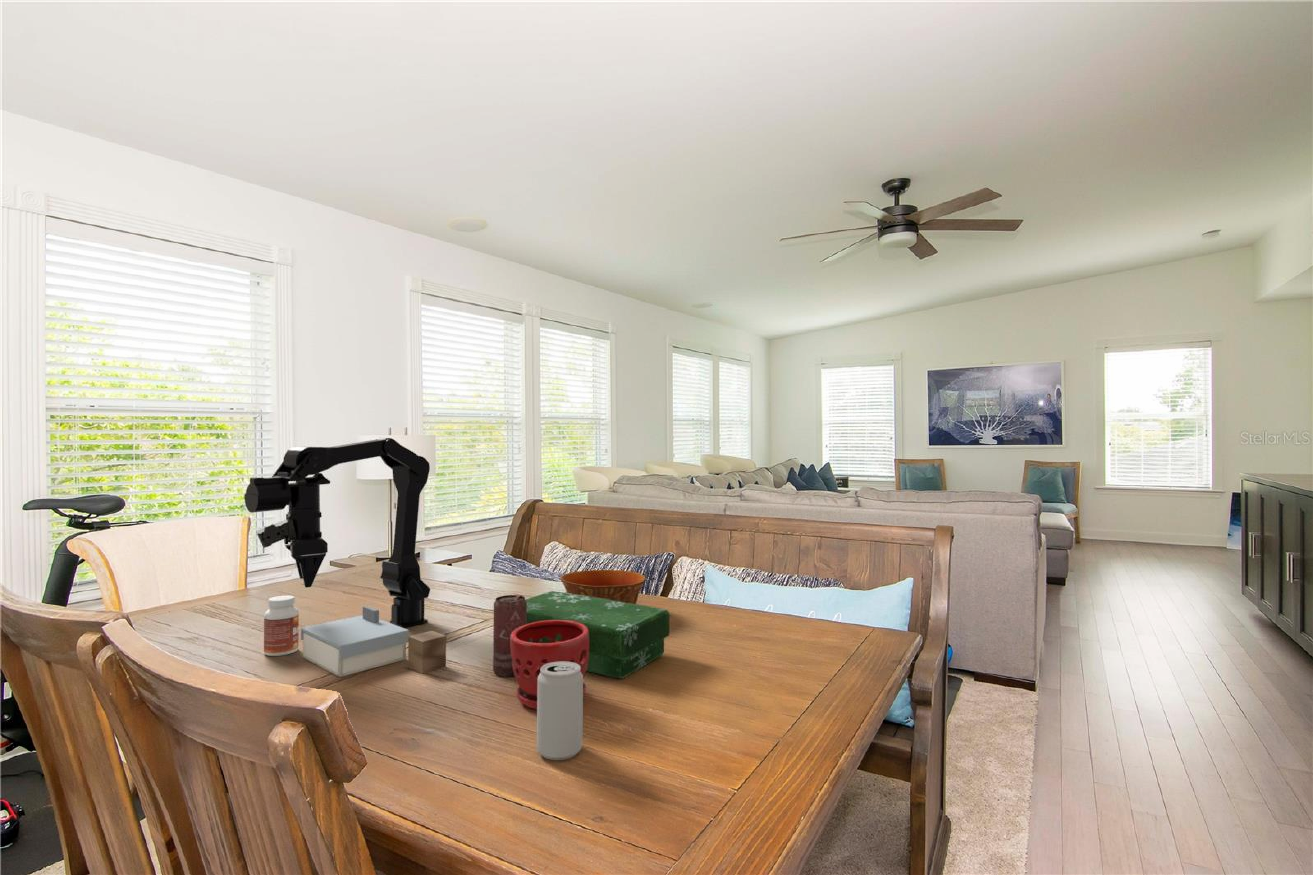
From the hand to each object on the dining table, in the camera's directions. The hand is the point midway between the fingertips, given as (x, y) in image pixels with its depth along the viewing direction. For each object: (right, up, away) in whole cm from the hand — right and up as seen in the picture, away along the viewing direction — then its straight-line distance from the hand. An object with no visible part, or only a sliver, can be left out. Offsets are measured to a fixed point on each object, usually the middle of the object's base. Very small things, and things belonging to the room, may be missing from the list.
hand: (305, 582), depth 136 cm
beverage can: (+59, -15, -43) cm, 74 cm away
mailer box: (+12, -14, -5) cm, 19 cm away
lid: (+13, -10, -5) cm, 17 cm away
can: (+45, -15, -12) cm, 49 cm away
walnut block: (+28, -14, -9) cm, 33 cm away
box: (+58, -15, -1) cm, 59 cm away
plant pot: (+55, -15, -25) cm, 62 cm away
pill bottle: (-4, -14, -2) cm, 15 cm away
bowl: (+59, -15, +27) cm, 67 cm away
